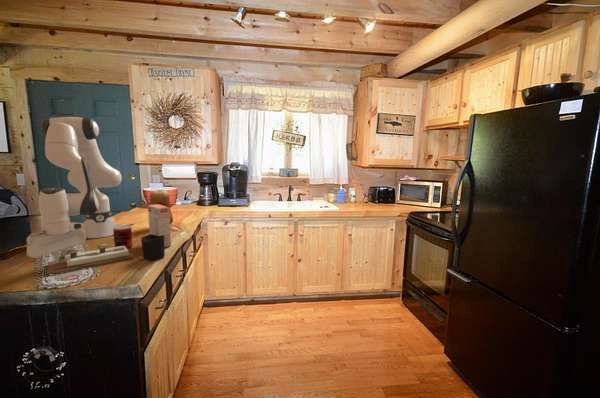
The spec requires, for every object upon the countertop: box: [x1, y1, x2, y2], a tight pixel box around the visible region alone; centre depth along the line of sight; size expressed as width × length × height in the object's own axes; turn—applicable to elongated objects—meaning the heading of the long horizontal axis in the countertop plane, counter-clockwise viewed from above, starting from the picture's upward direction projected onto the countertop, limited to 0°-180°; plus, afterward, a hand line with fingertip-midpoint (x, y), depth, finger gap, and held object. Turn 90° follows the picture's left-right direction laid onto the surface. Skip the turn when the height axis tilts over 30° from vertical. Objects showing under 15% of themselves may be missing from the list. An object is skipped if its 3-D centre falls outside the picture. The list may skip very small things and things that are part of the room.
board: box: [46, 243, 134, 276], centre depth 120 cm, size 14×29×7 cm, turn 132°
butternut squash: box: [149, 189, 174, 225], centre depth 177 cm, size 14×13×25 cm
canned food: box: [113, 224, 133, 250], centre depth 139 cm, size 8×8×11 cm
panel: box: [65, 246, 130, 267], centre depth 122 cm, size 10×22×4 cm, turn 132°
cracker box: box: [147, 204, 172, 248], centre depth 145 cm, size 14×6×21 cm, turn 47°
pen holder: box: [140, 234, 166, 262], centre depth 127 cm, size 9×9×10 cm
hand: (60, 260), depth 114 cm, fingers closed
